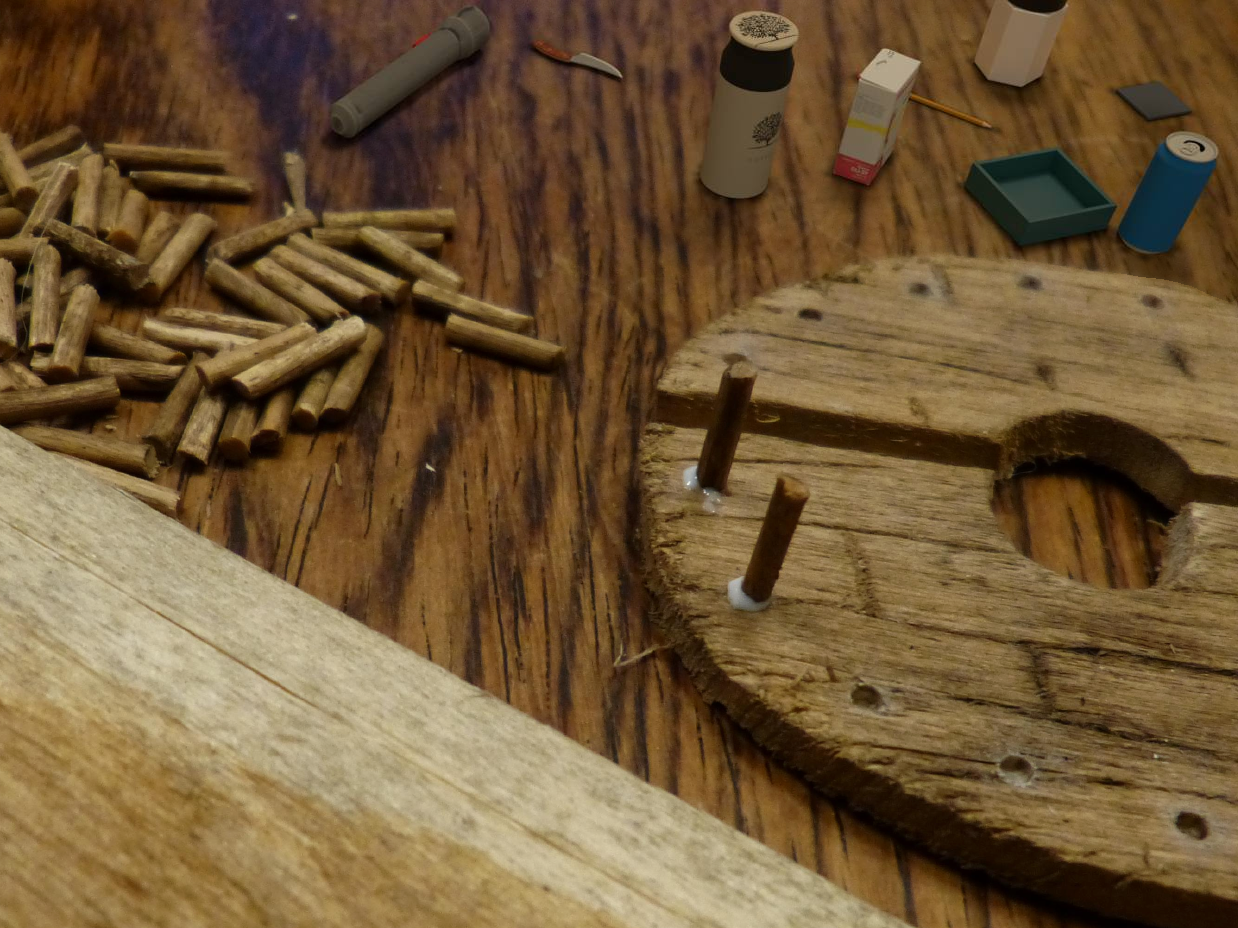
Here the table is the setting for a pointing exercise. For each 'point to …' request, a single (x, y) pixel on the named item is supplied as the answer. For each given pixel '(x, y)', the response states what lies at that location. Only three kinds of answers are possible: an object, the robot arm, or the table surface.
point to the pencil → (946, 109)
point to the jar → (1019, 39)
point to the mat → (1153, 101)
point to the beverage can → (1168, 192)
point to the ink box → (875, 115)
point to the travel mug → (749, 104)
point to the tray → (1039, 196)
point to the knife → (575, 58)
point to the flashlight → (411, 71)
